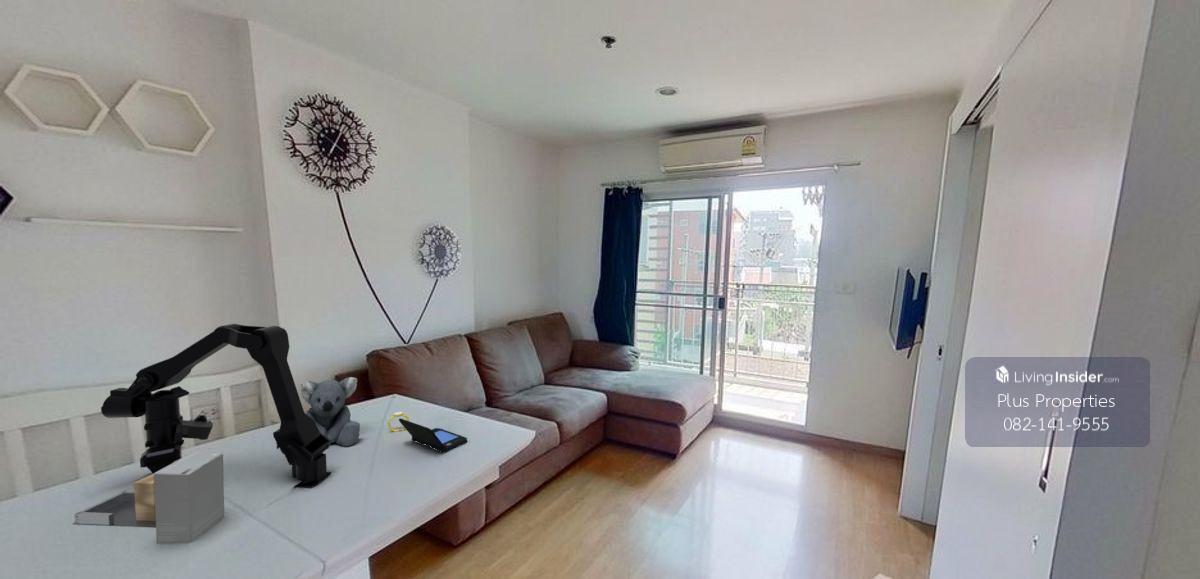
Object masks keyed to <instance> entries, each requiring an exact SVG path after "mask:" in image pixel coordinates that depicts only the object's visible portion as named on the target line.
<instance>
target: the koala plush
mask: <svg viewBox="0 0 1200 579" xmlns="http://www.w3.org/2000/svg"><path fill="white" fill-rule="evenodd" d="M357 383H358V378H356V377H352V376H350V377H345V378H344V379H342V380H340V381H337V380H336V379H325V380H321V381H320V382H315V381H311V380H307V379H304V380H302V382H300V384H299V385H300V387H299V390H300V393H299V394H300V395H301V396H300V397H301V399H304V401H305V402H306V403H307V404H309V405H310V408H308V409H307V410H306V412H305V414H306V415H308V416H309V417H310V418H311V419H313V420H314V422H315V424H316V426H317V427H318V429H319V431H320V433H321V434H323V435H324V436H325V437H326V438H327V439H329V440H330V441H331V443H336V444H337V445H339V446H340V445H341V446H346V447H349V446H353V445H354V444H356V442H357V441H358V440H359V437H360V430H361V428H360V427H361V423H360V422H358V421H354V420H351V411H350V408H349V407H348V406H347V405H346V404H345V402H346V399H348V398H350V397H351V396H352V394H354V393H355V392H356V389H357V386H358V384H357ZM331 443H330V444H331Z"/></svg>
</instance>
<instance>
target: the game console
mask: <svg viewBox="0 0 1200 579" xmlns="http://www.w3.org/2000/svg"><path fill="white" fill-rule="evenodd" d="M398 422H399V423H400V424H401V425H402V427H403V428H404V427H405V431H406V432H408V433H409V435H410V436H411V441H412V440H413V441H417V442H419V443H421V444H420V445H422V444H426V445H428V446H427V447H430V446H431V447H432V448H435V449H437V450H439V451H438V452H440V451H441V452H445V453H447V452H449V451H450V449H451V450H453V449H455V448H457V447H456V446H458V447H460V446H462V445H464V444H466V443H467V442H468V437H466V436H462V435H460V434H458V433H454V432H451V431H448V430H445V429H443V428H439V427H437V428H436V427H434V428H432V429H431V428H430V427H427V426H424V425H421V424H418V423H415V422H412V421H410V420H409V421H407V419H404V418H399V419H398ZM413 441H412V442H413ZM417 442H416V443H417ZM465 442H466V443H465ZM419 443H418V444H419ZM463 443H464V444H463ZM461 444H462V445H461ZM426 445H425V446H426ZM459 445H460V446H459ZM454 447H455V448H454ZM432 448H431V449H432ZM452 448H453V449H452ZM437 450H436V451H437ZM448 450H449V451H448ZM441 452H440V453H441Z"/></svg>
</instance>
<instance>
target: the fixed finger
mask: <svg viewBox="0 0 1200 579" xmlns="http://www.w3.org/2000/svg"><path fill="white" fill-rule="evenodd" d="M133 491H134V495H135V510H136V520H142V521H156V515H155V493H154V474H150V475H148V476H146V477H144V478H141V479H139V480H137V481H135V482H133Z"/></svg>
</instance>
